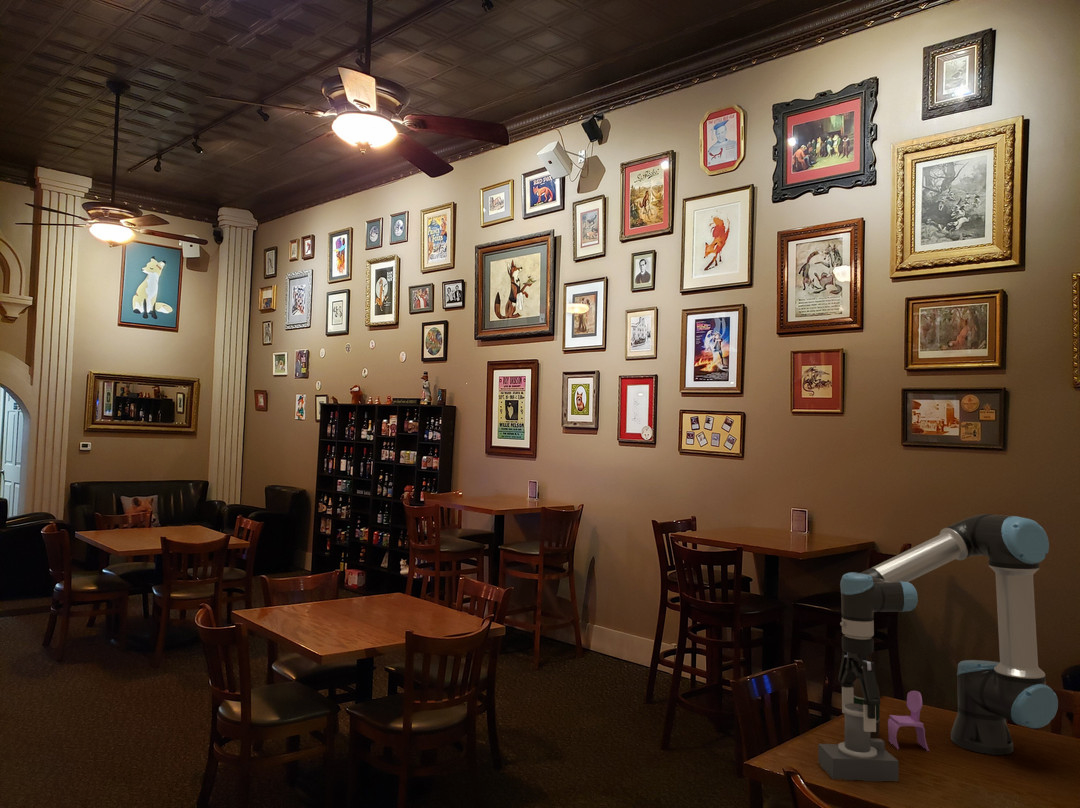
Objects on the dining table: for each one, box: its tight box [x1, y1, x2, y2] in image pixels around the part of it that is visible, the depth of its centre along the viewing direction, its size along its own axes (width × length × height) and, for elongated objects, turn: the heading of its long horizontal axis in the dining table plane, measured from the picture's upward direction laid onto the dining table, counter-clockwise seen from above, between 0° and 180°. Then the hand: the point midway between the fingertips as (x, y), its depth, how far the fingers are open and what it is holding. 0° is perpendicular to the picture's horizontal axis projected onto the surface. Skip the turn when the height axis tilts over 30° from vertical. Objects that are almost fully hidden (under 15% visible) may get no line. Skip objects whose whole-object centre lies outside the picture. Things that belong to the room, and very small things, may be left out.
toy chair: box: [887, 690, 930, 752], centre depth 213 cm, size 8×9×15 cm
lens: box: [844, 703, 870, 753], centre depth 193 cm, size 6×6×10 cm
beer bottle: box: [851, 654, 881, 739], centre depth 222 cm, size 8×8×24 cm
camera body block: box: [817, 738, 900, 782], centre depth 193 cm, size 16×10×7 cm, turn 90°
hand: (858, 721), depth 193 cm, fingers open, 13 cm apart
